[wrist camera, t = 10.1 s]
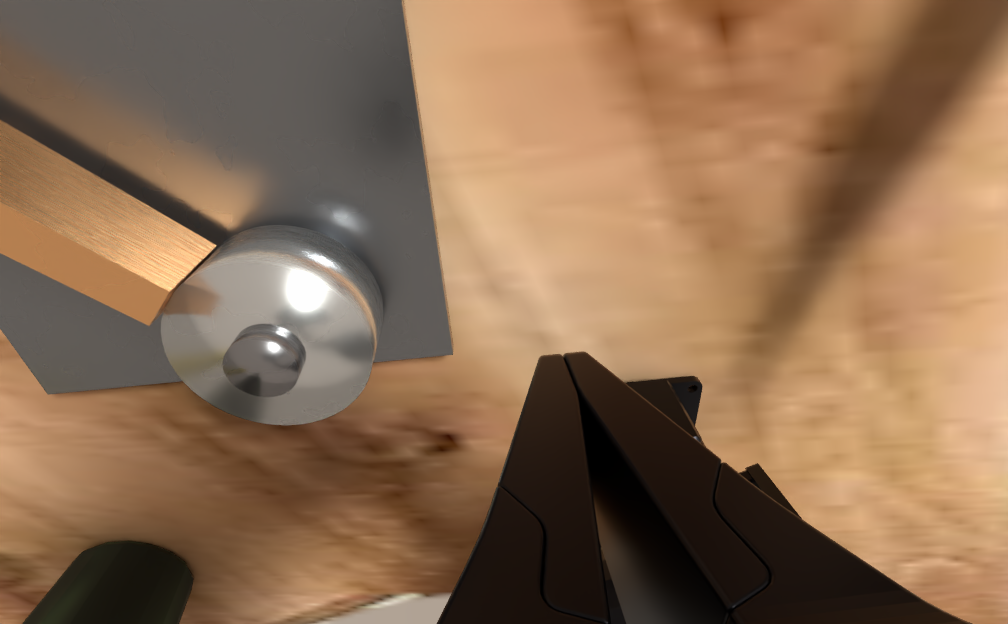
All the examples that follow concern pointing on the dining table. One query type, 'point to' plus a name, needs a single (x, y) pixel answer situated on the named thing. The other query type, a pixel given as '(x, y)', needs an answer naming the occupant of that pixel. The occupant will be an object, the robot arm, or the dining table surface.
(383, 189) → the chuck base plate
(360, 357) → the wooden bar
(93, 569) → the potion bottle
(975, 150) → the dining table surface
